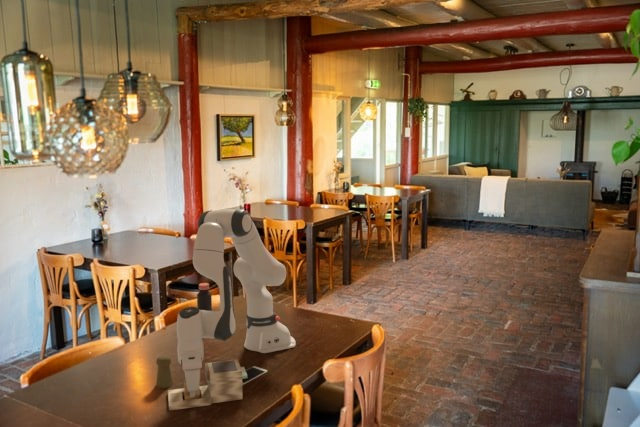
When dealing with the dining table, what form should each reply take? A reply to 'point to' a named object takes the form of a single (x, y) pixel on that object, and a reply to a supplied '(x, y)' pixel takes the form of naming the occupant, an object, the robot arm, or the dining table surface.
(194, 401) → the beige stepped box
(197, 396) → the block
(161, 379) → the olive pepper mill
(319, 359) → the dining table surface
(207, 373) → the cover
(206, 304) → the bottle
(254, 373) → the smartphone
